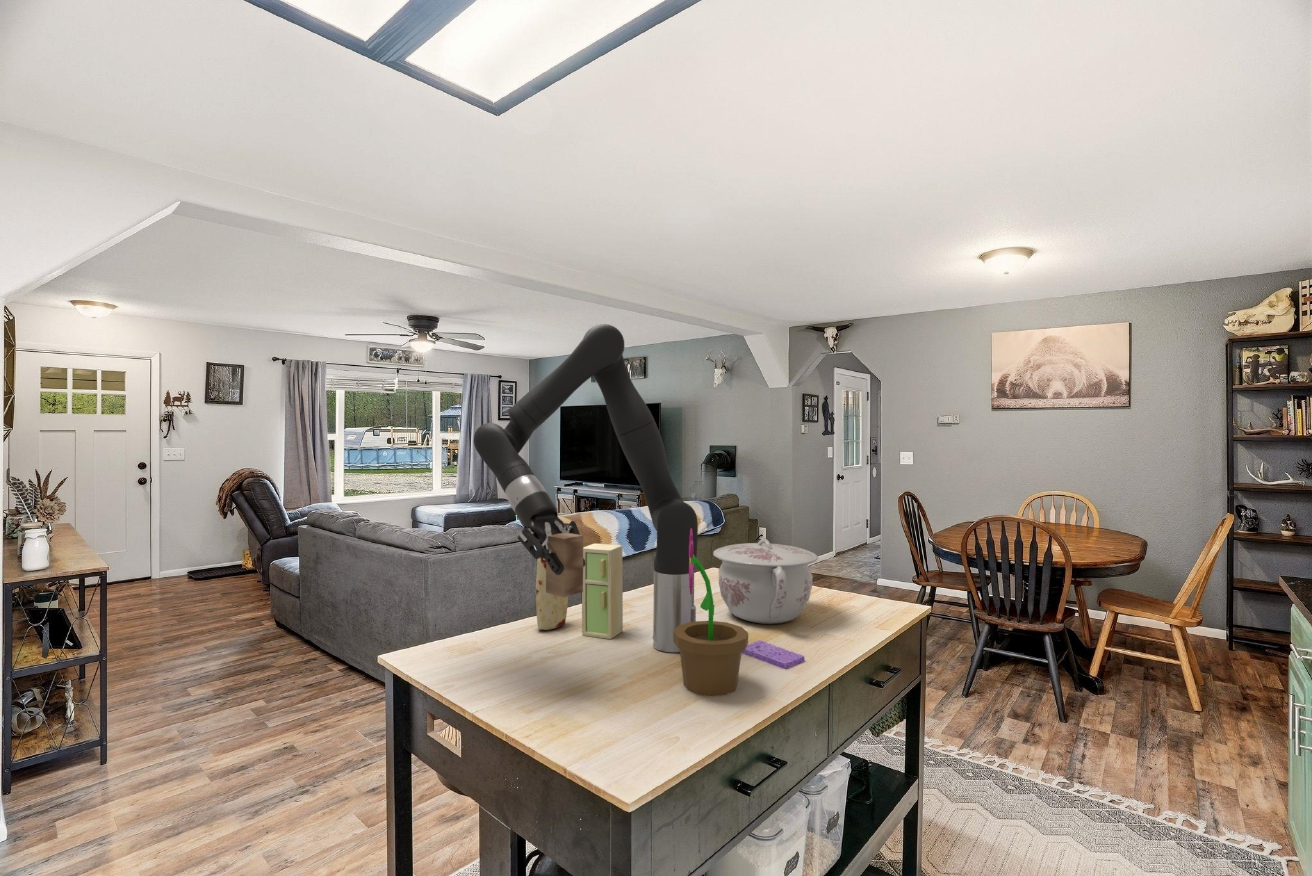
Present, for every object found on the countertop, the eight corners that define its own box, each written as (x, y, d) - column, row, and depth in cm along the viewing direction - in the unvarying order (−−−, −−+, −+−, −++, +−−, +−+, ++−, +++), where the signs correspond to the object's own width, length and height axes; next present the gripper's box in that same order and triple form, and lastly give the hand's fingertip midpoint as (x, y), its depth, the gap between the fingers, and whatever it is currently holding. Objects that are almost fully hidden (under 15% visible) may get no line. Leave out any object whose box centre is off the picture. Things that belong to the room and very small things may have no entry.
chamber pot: (742, 597, 183) (743, 527, 183) (833, 613, 167) (834, 537, 167) (691, 619, 160) (692, 540, 160) (790, 641, 144) (791, 553, 144)
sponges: (760, 647, 142) (760, 639, 142) (805, 663, 132) (805, 654, 132) (739, 654, 137) (739, 646, 137) (785, 671, 128) (785, 662, 128)
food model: (548, 635, 148) (548, 551, 147) (528, 629, 151) (528, 548, 151) (575, 624, 156) (576, 545, 155) (555, 620, 159) (556, 542, 159)
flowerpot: (673, 669, 127) (674, 523, 127) (743, 671, 126) (745, 524, 126) (672, 700, 113) (674, 535, 112) (752, 701, 112) (753, 536, 112)
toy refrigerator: (579, 636, 147) (580, 547, 147) (593, 627, 154) (594, 542, 154) (609, 640, 144) (610, 550, 144) (623, 631, 151) (623, 545, 151)
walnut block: (565, 587, 124) (565, 532, 123) (582, 591, 120) (583, 535, 120) (545, 592, 120) (546, 535, 120) (563, 597, 117) (564, 538, 116)
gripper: (510, 492, 119) (553, 564, 112) (565, 487, 130) (607, 552, 123) (493, 517, 122) (533, 588, 115) (548, 510, 133) (588, 574, 126)
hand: (571, 569), depth 119 cm, fingers closed on walnut block, 5 cm apart
